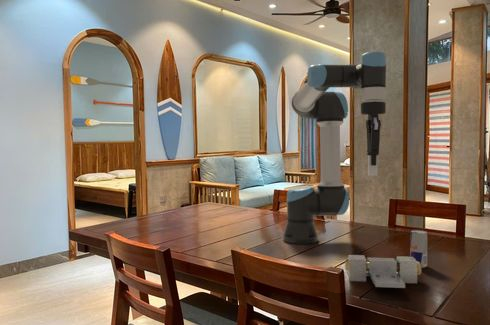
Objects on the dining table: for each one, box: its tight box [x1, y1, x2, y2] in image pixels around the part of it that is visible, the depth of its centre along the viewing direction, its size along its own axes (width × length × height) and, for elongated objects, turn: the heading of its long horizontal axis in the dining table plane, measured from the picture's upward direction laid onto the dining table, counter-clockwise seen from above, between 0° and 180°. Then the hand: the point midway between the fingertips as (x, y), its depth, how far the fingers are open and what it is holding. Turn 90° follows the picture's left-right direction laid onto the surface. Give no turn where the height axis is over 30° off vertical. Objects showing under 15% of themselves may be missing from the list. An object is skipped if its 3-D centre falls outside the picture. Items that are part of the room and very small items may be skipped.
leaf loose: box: [366, 257, 406, 289], centre depth 121 cm, size 8×16×5 cm, turn 171°
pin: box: [344, 260, 422, 275], centre depth 127 cm, size 22×4×4 cm, turn 81°
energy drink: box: [409, 229, 428, 269], centre depth 140 cm, size 5×5×12 cm
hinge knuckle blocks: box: [346, 254, 418, 284], centre depth 130 cm, size 20×12×7 cm, turn 81°
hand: (372, 175), depth 130 cm, fingers closed
